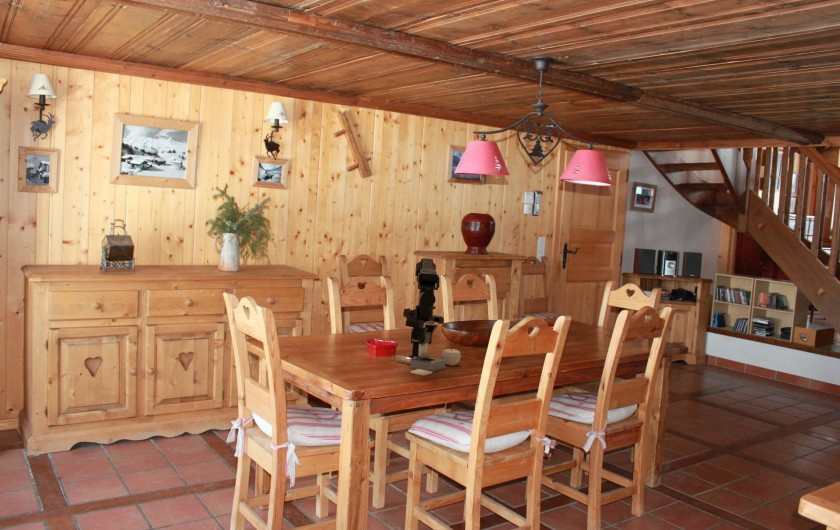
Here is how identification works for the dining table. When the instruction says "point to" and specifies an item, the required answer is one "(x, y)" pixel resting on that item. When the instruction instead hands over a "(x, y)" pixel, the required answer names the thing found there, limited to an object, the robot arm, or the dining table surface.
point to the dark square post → (424, 345)
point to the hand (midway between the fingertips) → (423, 343)
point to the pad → (421, 372)
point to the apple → (451, 356)
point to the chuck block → (424, 363)
